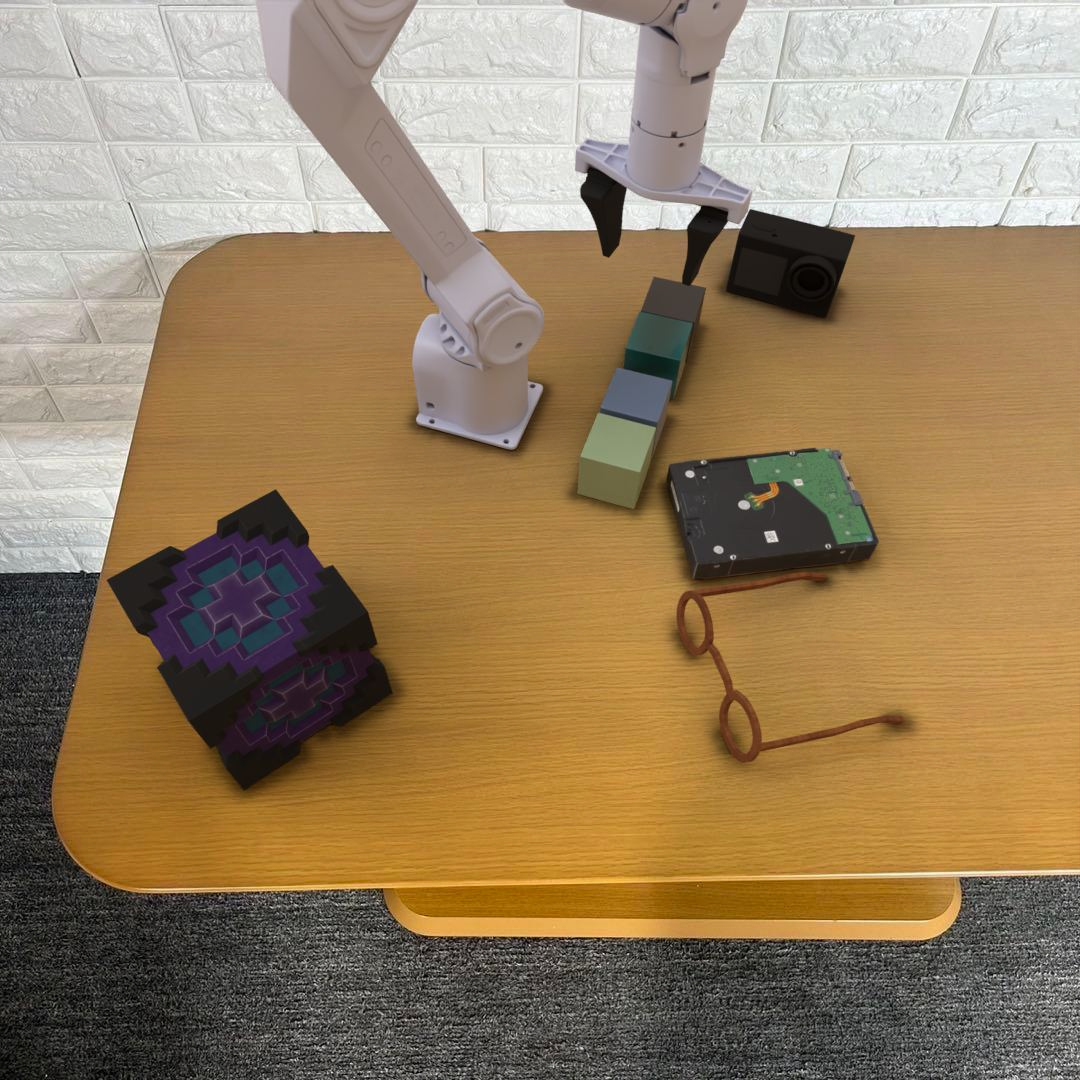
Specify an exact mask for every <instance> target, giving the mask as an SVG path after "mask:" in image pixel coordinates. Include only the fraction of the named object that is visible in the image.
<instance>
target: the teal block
mask: <svg viewBox="0 0 1080 1080" xmlns="http://www.w3.org/2000/svg"><path fill="white" fill-rule="evenodd" d="M692 326H693V323H690V322H685V321H681V320H676V319H672V318H667V317H663V316H658V315H654V314H649V313H645V312H641V311H639V312H638V314H637V316H636V318H635V321H634V324H633V326H632V329H631V332H630V334H629V337H628V341H627V342H626V345H625V348H624V356H623V366H622V369H626V370H630V371H634V372H638V373H642V374H646V375H650V376H655V377H659V378H663V379H667V380H671V381H672V387H671V393H670V399H669V400H671V401H674V399H675V396H676V394H677V390H678V387H679V384H680V381H681V377H682V375H683V372H684V369H685V366H686V357H687V352H688V347H689V342H690V337H691V332H692Z"/></svg>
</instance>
